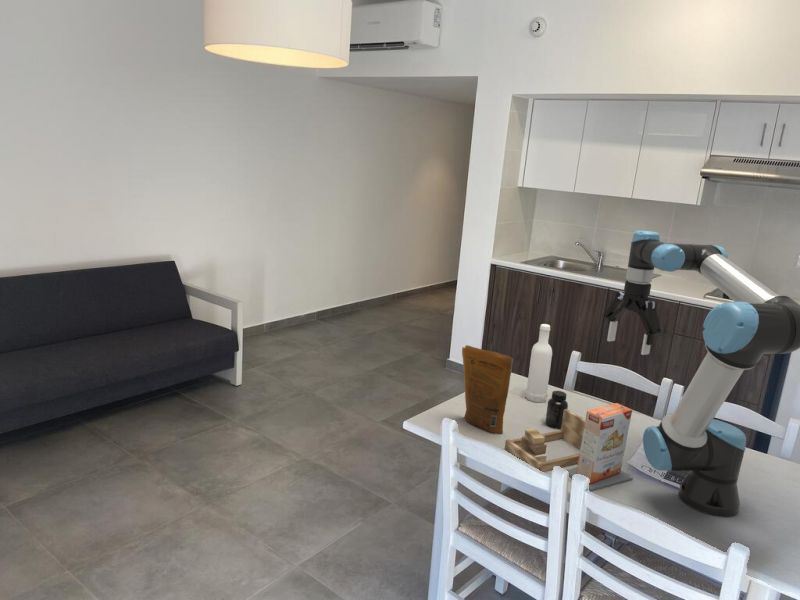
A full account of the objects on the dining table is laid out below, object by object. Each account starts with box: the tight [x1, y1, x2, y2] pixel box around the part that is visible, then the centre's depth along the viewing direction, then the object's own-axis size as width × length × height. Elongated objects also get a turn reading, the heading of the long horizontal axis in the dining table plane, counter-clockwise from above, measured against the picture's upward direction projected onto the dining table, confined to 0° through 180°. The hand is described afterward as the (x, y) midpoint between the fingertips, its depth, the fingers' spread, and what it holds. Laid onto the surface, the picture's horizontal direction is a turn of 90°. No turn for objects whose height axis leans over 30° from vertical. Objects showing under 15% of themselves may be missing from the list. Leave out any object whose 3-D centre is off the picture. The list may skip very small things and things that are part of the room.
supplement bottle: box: [545, 390, 569, 430], centre depth 208 cm, size 7×7×12 cm
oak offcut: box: [524, 428, 545, 446], centre depth 183 cm, size 6×4×2 cm, turn 15°
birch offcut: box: [520, 446, 548, 462], centre depth 185 cm, size 8×4×3 cm, turn 22°
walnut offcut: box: [521, 435, 547, 456], centre depth 184 cm, size 7×4×3 cm, turn 27°
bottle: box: [525, 323, 553, 404], centre depth 228 cm, size 8×8×30 cm
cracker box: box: [576, 402, 633, 484], centre depth 174 cm, size 14×6×21 cm, turn 124°
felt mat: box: [566, 466, 634, 492], centre depth 177 cm, size 11×17×1 cm, turn 118°
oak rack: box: [504, 409, 586, 473], centre depth 187 cm, size 16×24×10 cm, turn 118°
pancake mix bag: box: [461, 344, 514, 435], centre depth 201 cm, size 7×19×28 cm, turn 46°
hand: (627, 347), depth 187 cm, fingers open, 13 cm apart
